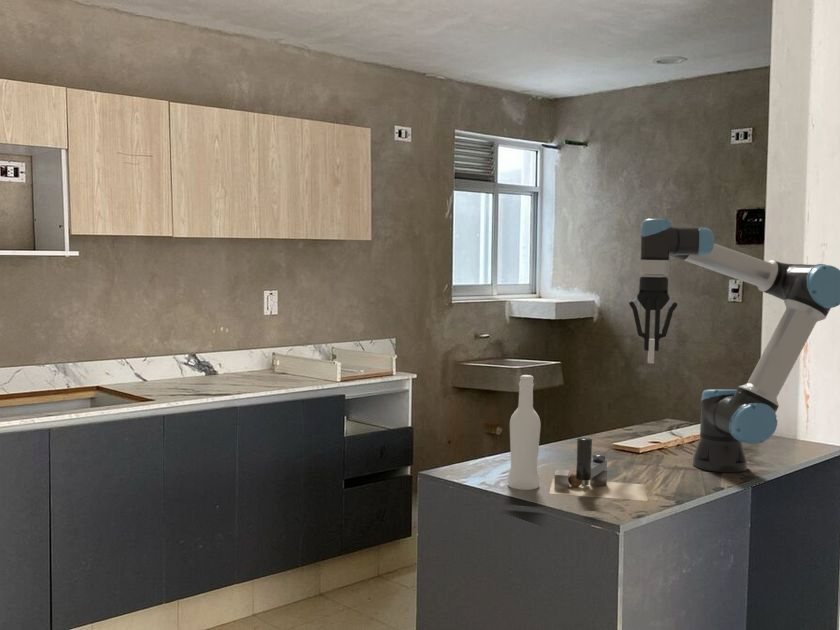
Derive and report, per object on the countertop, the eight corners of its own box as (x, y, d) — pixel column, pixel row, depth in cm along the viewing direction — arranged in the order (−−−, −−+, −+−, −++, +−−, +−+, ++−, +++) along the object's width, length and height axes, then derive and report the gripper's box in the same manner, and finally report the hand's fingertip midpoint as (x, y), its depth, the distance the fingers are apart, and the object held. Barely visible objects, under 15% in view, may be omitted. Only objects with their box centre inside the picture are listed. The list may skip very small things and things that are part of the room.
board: (644, 488, 225) (645, 470, 225) (647, 505, 210) (648, 486, 209) (552, 482, 230) (553, 464, 230) (549, 498, 215) (549, 479, 214)
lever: (607, 482, 225) (609, 431, 224) (587, 494, 212) (588, 441, 212) (592, 480, 227) (594, 429, 226) (571, 492, 215) (573, 439, 214)
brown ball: (585, 483, 222) (578, 470, 223) (584, 484, 219) (578, 471, 220) (572, 488, 223) (566, 475, 224) (571, 489, 219) (565, 477, 220)
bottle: (505, 485, 226) (508, 373, 224) (535, 485, 226) (538, 373, 224) (510, 494, 217) (514, 377, 216) (542, 494, 218) (545, 377, 216)
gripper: (677, 276, 234) (674, 362, 235) (628, 275, 236) (625, 360, 238) (680, 277, 226) (676, 365, 228) (629, 275, 229) (626, 363, 230)
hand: (650, 362), depth 233 cm, fingers closed
